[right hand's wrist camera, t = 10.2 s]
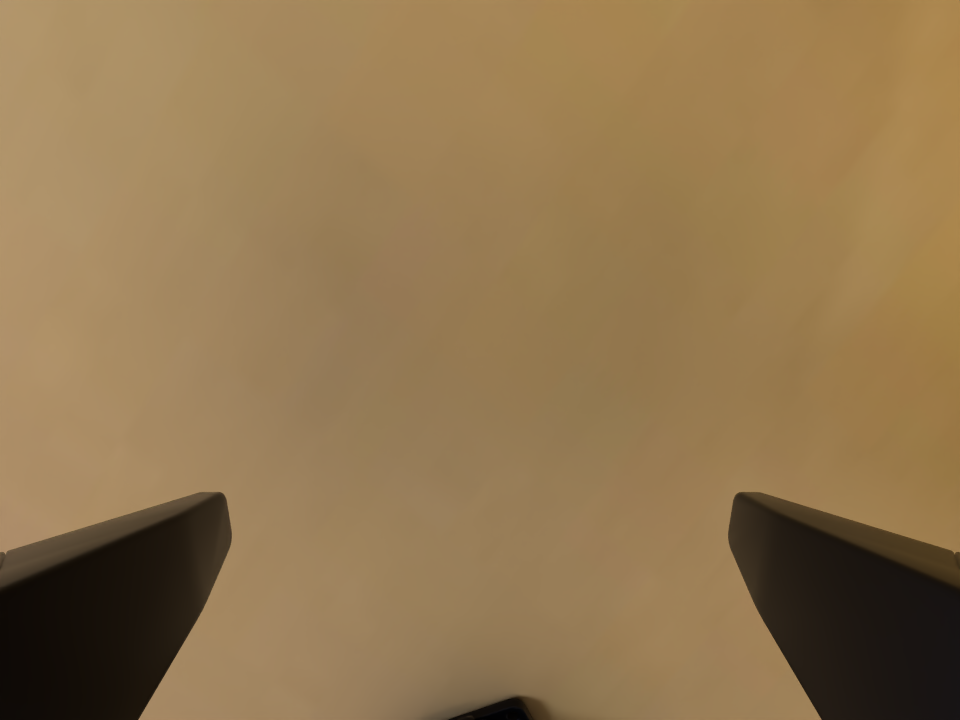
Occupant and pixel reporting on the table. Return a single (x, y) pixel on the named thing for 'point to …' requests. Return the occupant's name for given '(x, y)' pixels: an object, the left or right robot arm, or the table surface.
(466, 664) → the table surface
